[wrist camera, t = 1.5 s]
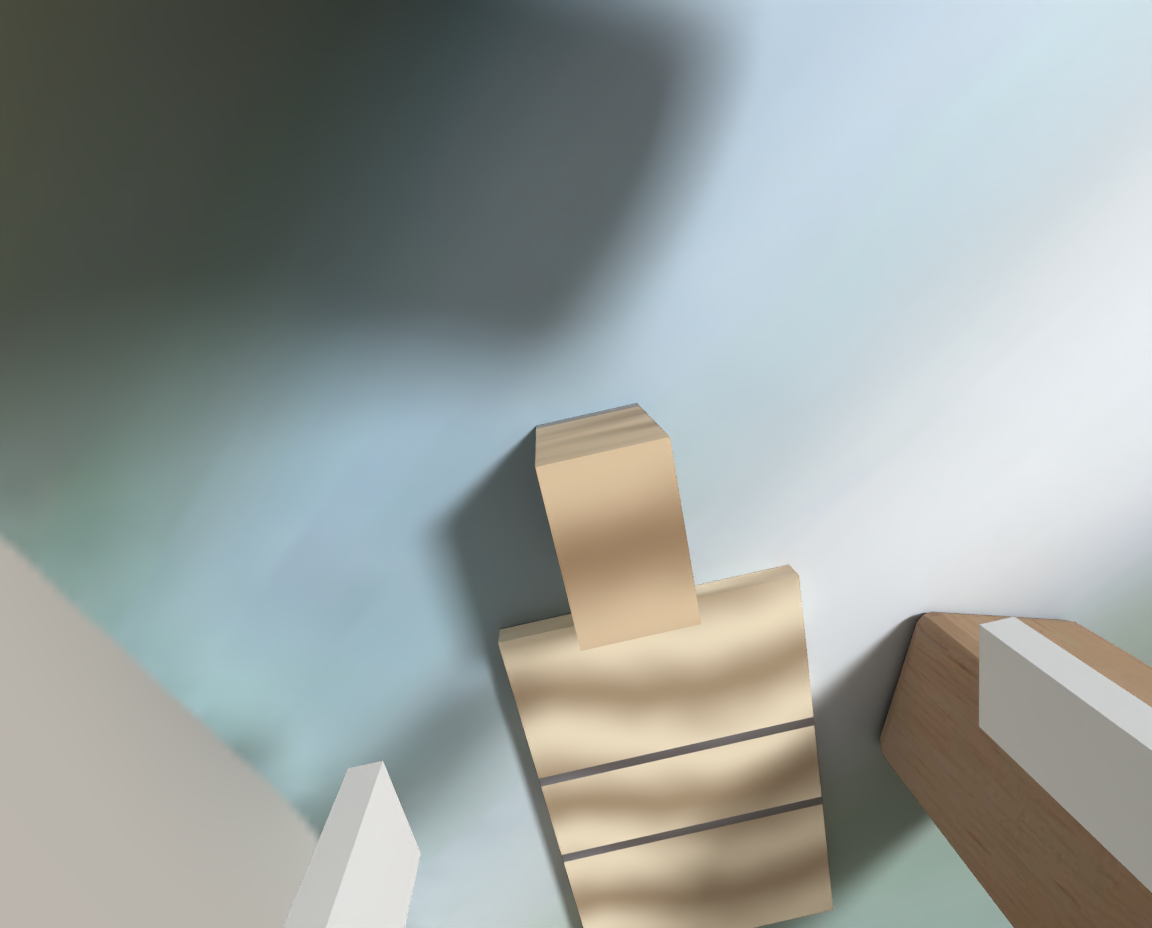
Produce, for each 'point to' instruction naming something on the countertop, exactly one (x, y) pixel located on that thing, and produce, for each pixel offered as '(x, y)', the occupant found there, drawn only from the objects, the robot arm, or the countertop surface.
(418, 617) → the countertop surface
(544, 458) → the block
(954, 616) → the block
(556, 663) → the board
